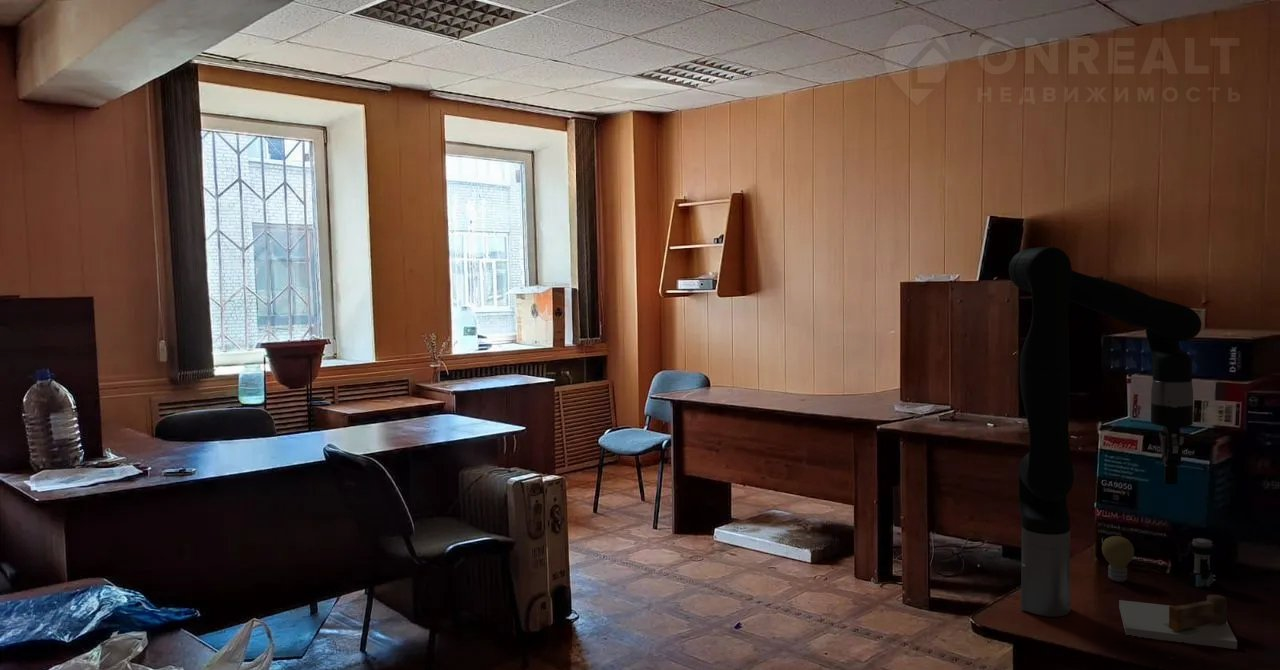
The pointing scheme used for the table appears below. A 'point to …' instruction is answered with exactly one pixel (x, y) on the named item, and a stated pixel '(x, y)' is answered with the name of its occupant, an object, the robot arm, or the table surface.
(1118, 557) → the light bulb
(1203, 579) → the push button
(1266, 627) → the table surface
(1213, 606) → the peg lever
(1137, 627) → the plate
